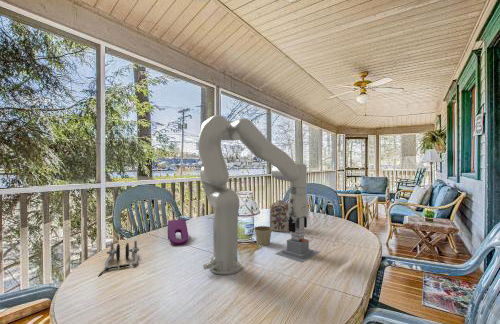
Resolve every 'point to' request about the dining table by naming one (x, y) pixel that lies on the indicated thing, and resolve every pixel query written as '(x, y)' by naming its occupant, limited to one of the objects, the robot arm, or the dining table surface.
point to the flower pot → (263, 235)
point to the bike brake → (117, 252)
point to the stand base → (298, 250)
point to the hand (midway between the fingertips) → (297, 229)
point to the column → (298, 230)
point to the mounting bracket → (176, 227)
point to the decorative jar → (279, 216)
